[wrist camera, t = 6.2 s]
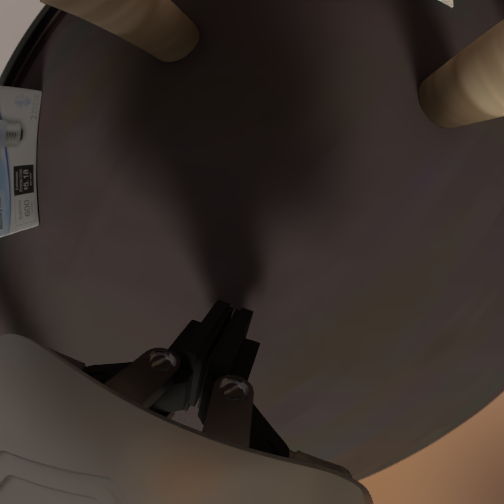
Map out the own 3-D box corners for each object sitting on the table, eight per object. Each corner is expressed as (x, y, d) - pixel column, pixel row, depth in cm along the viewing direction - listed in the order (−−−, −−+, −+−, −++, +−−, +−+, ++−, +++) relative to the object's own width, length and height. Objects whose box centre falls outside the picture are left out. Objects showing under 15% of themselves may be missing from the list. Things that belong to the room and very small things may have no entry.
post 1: (191, 62, 10) (75, -13, 3) (148, 62, 11) (29, 12, 3) (206, 21, 10) (114, -69, 2) (162, 23, 10) (62, -42, 2)
